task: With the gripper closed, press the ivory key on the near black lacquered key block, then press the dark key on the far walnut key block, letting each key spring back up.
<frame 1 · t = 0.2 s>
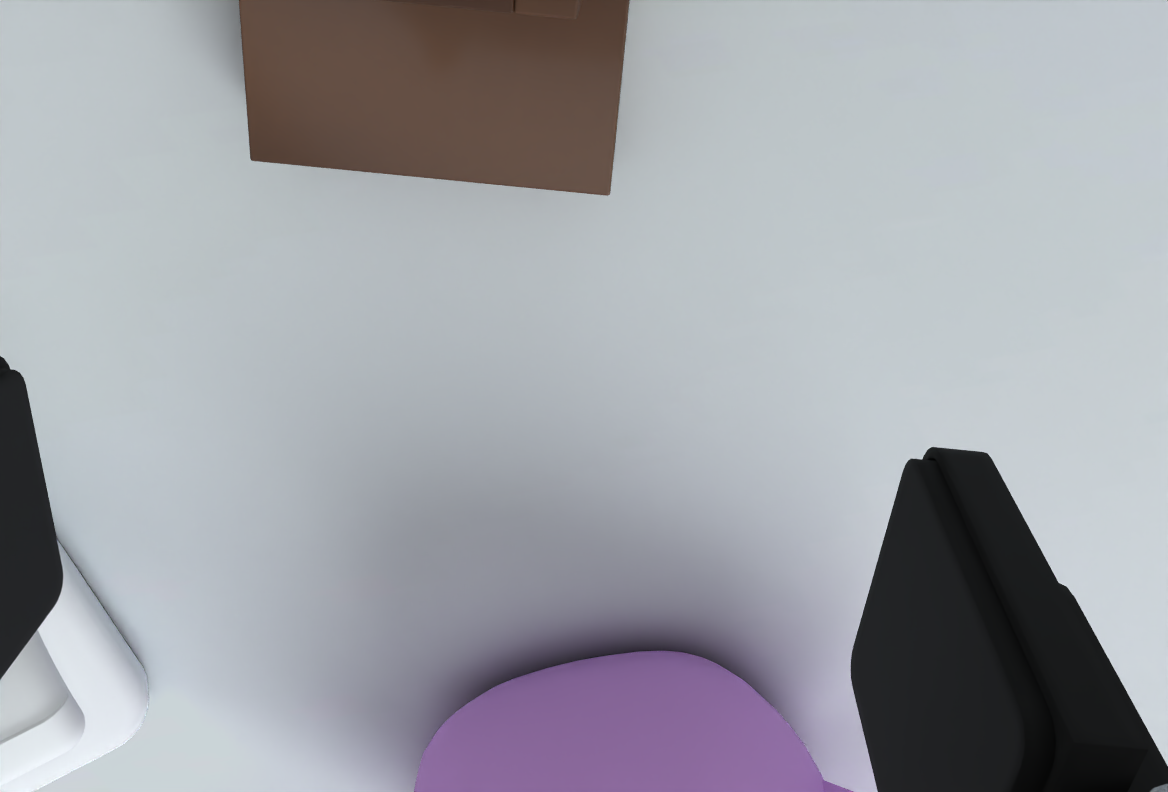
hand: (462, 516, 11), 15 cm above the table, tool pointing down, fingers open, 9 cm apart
teapot: (610, 773, 36), on the table
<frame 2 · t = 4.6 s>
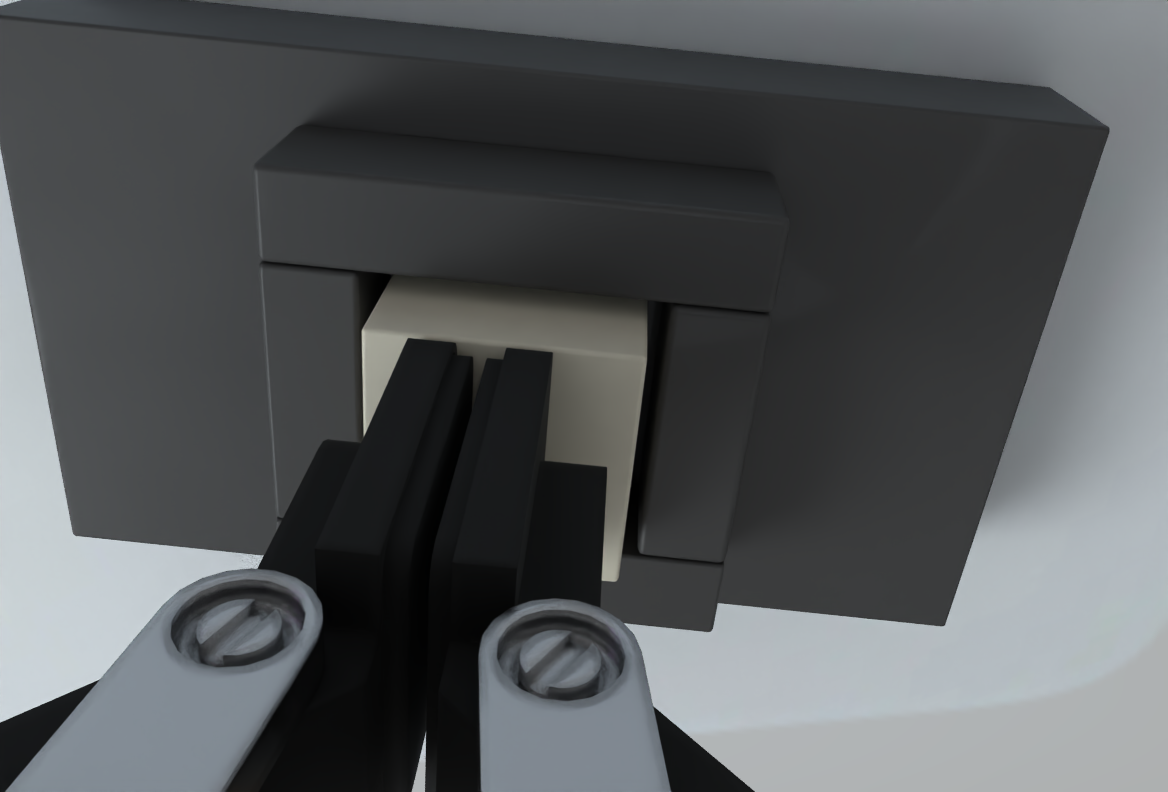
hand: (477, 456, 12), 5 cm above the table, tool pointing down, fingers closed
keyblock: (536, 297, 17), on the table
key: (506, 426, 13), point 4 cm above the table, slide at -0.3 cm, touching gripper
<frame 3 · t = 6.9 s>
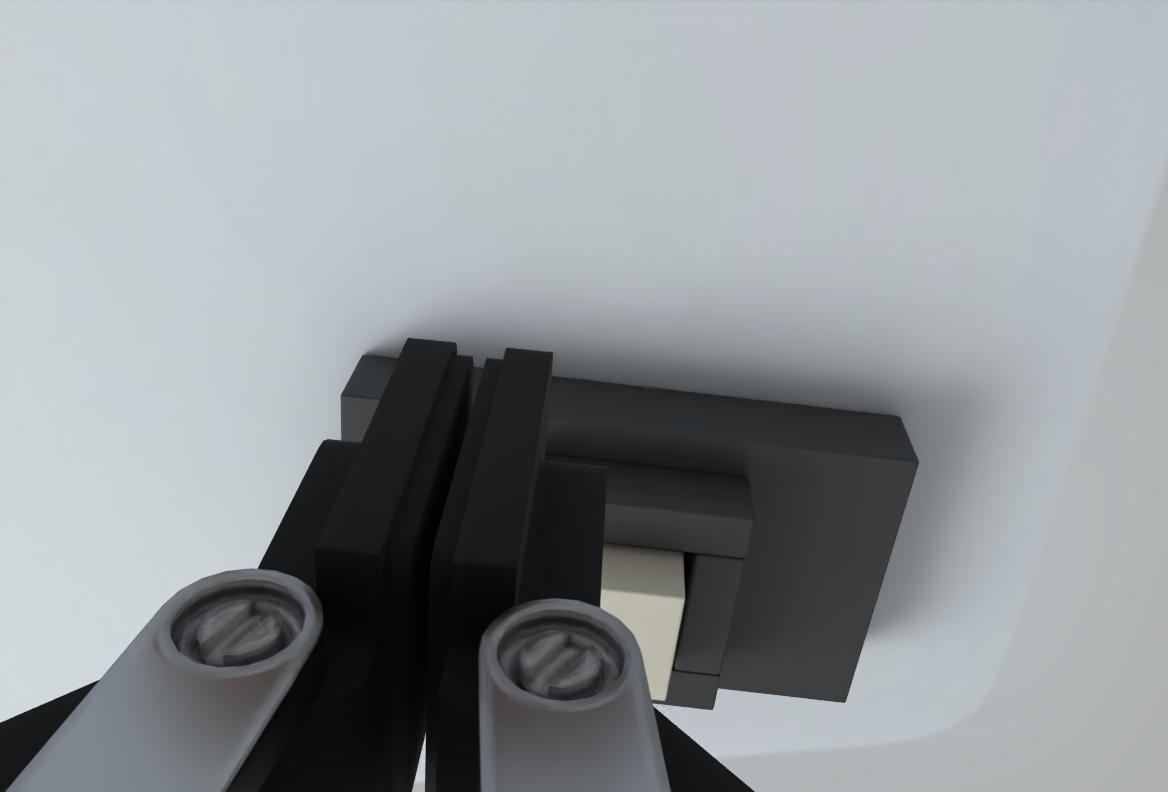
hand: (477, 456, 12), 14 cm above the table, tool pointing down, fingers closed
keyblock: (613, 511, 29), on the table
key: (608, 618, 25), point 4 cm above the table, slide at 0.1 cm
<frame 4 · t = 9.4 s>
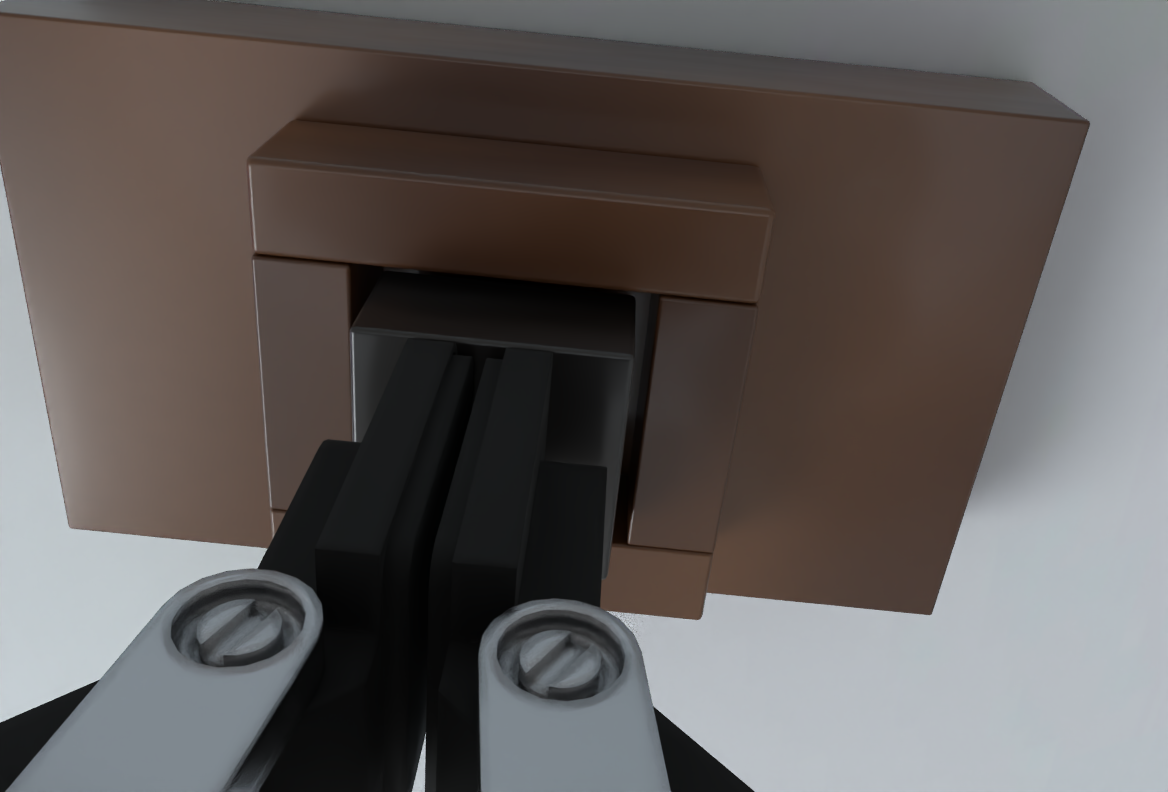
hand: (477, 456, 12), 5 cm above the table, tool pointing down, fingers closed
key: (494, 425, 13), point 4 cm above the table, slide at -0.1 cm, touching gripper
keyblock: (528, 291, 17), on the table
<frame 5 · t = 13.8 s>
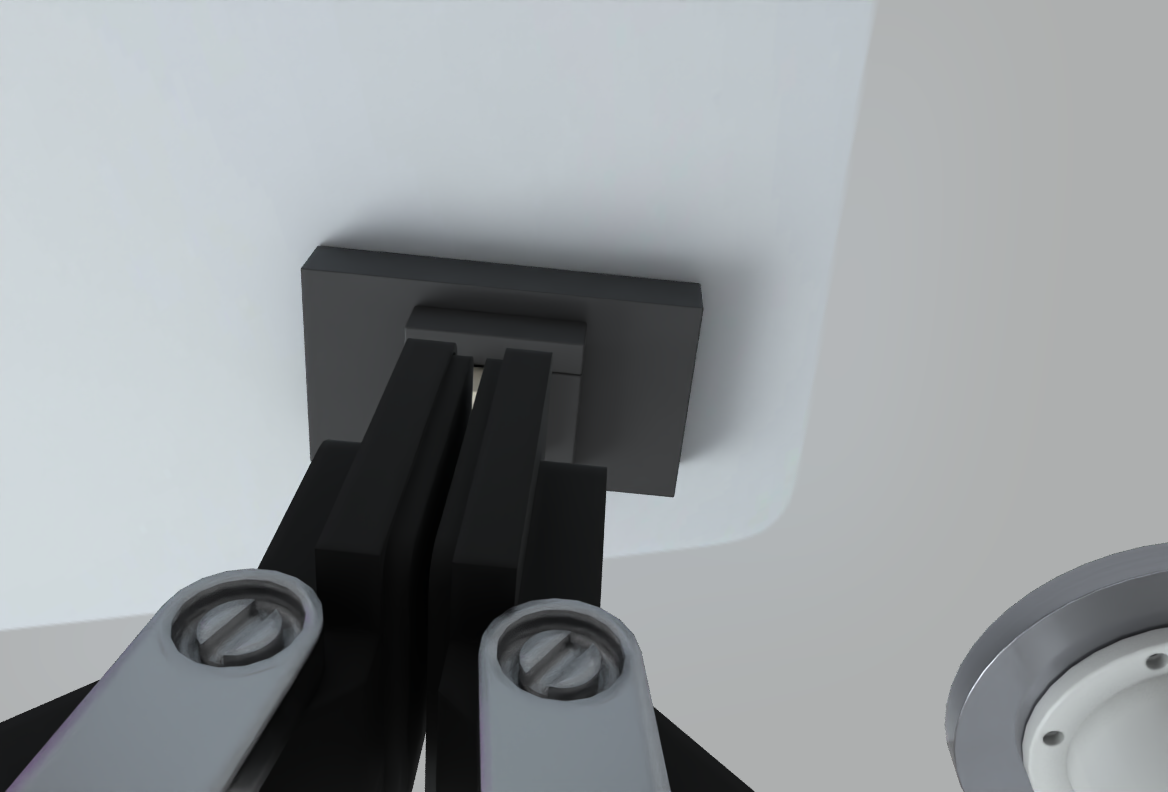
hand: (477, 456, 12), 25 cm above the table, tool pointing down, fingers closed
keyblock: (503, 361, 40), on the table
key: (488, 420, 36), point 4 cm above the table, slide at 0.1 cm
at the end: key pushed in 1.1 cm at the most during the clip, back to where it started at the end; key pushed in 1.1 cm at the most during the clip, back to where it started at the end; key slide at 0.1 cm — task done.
